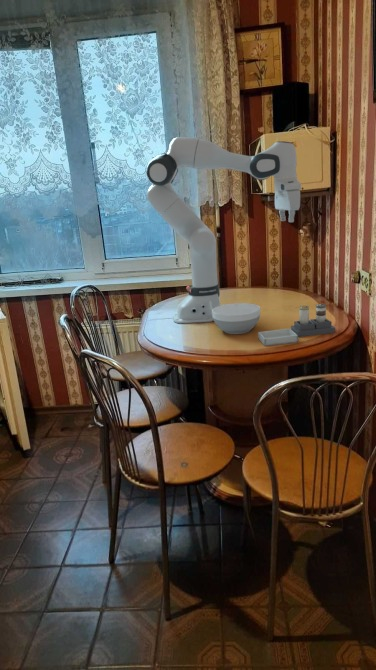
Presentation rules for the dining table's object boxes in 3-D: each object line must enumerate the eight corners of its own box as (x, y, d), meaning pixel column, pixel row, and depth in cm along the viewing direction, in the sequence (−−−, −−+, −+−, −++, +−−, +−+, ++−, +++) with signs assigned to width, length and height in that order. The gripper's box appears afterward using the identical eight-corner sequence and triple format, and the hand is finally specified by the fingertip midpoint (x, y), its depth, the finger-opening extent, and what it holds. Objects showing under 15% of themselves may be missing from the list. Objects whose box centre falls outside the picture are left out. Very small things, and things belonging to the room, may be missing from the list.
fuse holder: (298, 337, 171) (298, 326, 170) (291, 330, 178) (290, 320, 177) (335, 332, 172) (335, 322, 171) (326, 326, 180) (326, 316, 178)
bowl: (213, 325, 195) (211, 304, 192) (258, 321, 194) (257, 301, 191) (213, 339, 177) (212, 316, 174) (263, 335, 176) (263, 313, 173)
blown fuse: (318, 327, 173) (318, 306, 171) (314, 325, 176) (314, 304, 174) (327, 326, 173) (327, 305, 171) (323, 323, 177) (323, 303, 174)
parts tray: (264, 346, 164) (264, 339, 164) (258, 338, 173) (258, 332, 172) (298, 342, 165) (297, 335, 165) (289, 334, 174) (289, 328, 173)
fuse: (301, 329, 172) (301, 308, 170) (298, 326, 176) (297, 306, 173) (310, 328, 173) (310, 307, 170) (307, 325, 176) (307, 305, 174)
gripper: (270, 186, 193) (271, 221, 197) (286, 185, 173) (287, 223, 177) (284, 185, 193) (286, 219, 197) (302, 184, 174) (303, 222, 178)
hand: (287, 221), depth 187 cm, fingers open, 8 cm apart
